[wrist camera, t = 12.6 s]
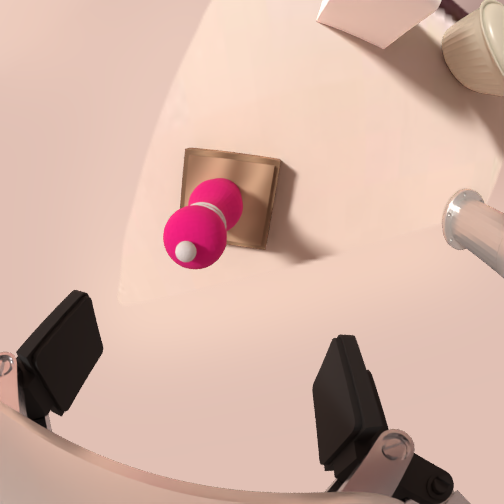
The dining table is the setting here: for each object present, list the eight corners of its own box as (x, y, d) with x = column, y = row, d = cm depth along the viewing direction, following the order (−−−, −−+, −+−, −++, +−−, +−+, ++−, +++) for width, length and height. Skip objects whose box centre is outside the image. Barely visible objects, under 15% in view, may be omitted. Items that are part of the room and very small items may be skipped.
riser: (279, 159, 41) (281, 161, 37) (265, 241, 47) (265, 251, 43) (191, 147, 41) (184, 149, 37) (184, 229, 46) (177, 238, 43)
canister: (486, 119, 34) (562, 131, 14) (421, 72, 32) (501, 53, 13) (493, 53, 26) (559, 47, 7) (431, 5, 25) (493, -28, 6)
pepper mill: (247, 220, 41) (232, 293, 23) (199, 223, 42) (152, 294, 23) (243, 172, 38) (222, 208, 20) (193, 176, 39) (134, 216, 20)
